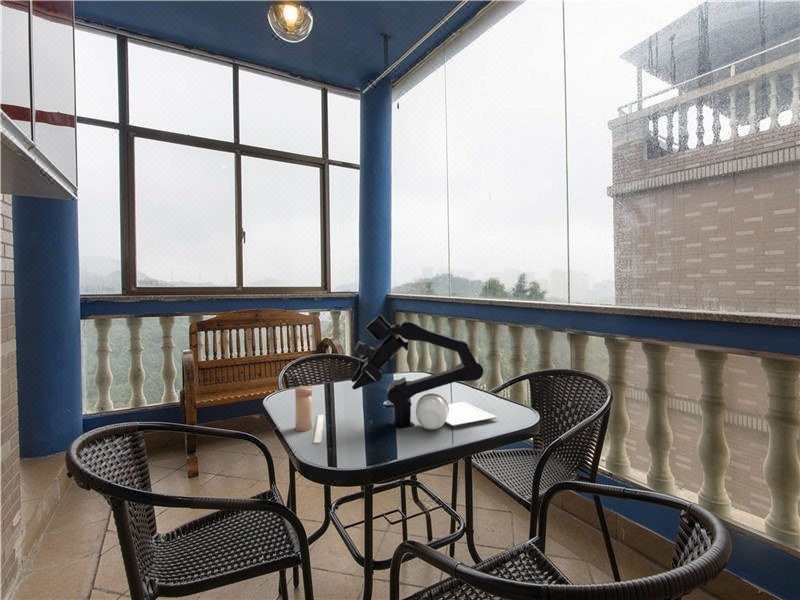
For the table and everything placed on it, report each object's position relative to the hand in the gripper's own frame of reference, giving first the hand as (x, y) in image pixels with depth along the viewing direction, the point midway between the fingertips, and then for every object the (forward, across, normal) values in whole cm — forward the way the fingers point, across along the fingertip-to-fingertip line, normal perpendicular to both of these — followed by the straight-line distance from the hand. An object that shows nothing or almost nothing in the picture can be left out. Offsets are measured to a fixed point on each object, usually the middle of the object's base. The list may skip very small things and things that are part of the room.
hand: (352, 384), depth 128 cm
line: (+17, +1, +2) cm, 17 cm away
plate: (-16, -4, +36) cm, 40 cm away
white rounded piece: (-10, +10, +23) cm, 27 cm away
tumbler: (+20, 0, -1) cm, 21 cm away
